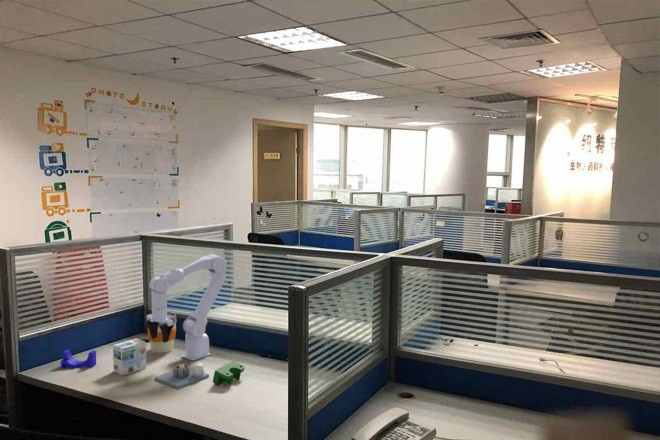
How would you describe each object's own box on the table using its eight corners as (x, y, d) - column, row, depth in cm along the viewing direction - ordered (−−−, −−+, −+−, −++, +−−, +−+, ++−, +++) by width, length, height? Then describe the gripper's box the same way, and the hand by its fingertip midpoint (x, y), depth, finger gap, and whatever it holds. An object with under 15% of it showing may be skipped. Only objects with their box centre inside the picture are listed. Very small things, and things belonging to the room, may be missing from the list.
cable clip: (60, 368, 205) (60, 353, 205) (67, 364, 210) (66, 349, 209) (90, 369, 205) (90, 354, 204) (96, 365, 209) (95, 350, 209)
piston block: (185, 368, 206) (185, 356, 206) (208, 376, 198) (208, 364, 197) (154, 379, 195) (154, 366, 194) (178, 388, 186) (178, 375, 186)
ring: (183, 371, 200) (182, 362, 200) (192, 375, 197) (192, 366, 196) (170, 376, 195) (170, 367, 195) (180, 379, 192) (180, 370, 192)
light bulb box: (122, 375, 198) (121, 348, 197) (112, 371, 202) (112, 344, 201) (147, 367, 206) (146, 341, 205) (137, 363, 210) (136, 337, 210)
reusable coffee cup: (170, 342, 237) (169, 310, 235) (181, 350, 227) (181, 316, 226) (142, 348, 229) (142, 315, 227) (153, 356, 219) (152, 321, 218)
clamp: (226, 397, 190) (224, 380, 186) (213, 390, 193) (211, 373, 188) (246, 375, 199) (245, 358, 194) (234, 369, 202) (232, 352, 197)
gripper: (139, 306, 210) (140, 338, 211) (161, 312, 201) (162, 346, 202) (154, 302, 215) (155, 334, 216) (177, 308, 207) (177, 341, 208)
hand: (159, 340), depth 210 cm, fingers open, 7 cm apart
